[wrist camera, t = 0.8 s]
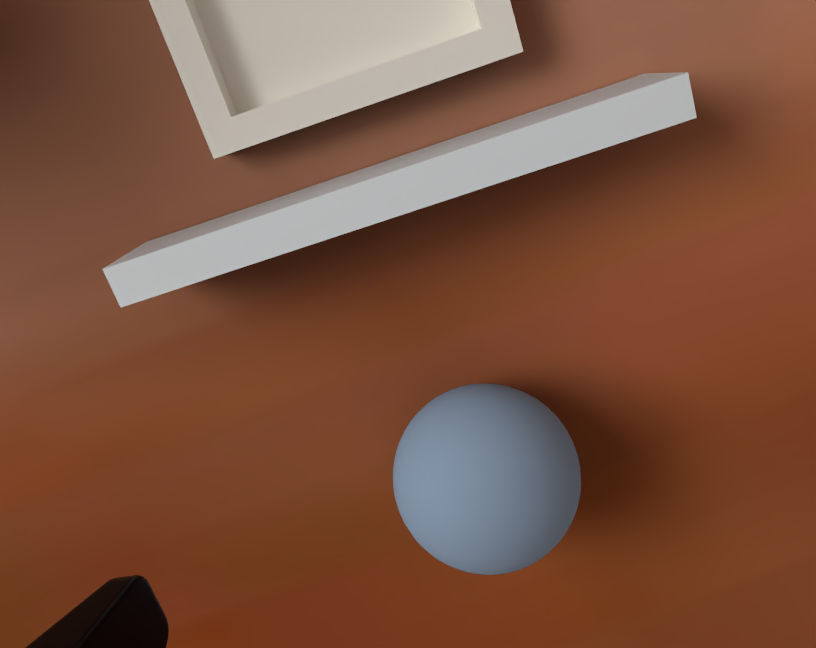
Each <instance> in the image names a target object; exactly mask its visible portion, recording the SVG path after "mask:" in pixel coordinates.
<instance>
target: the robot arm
mask: <svg viewBox="0 0 816 648" xmlns="http://www.w3.org/2000/svg"><path fill="white" fill-rule="evenodd" d="M168 631H169V630H168V622H167V619H166V616H165V614H164V612H163V610H162V608H161V606H160V604H159V602H158V600H157V598H156V596H155V594H154V592H153V590H152V588H151V587H150V585H149V583H148V581H147V580H146V579H145V578H144V577H142V576H139V575H134V576H126V577H118V578H114V579H111V580H109V581H108V582H106V583H105V584H104V585H103V586H101V587H100V588H99V589H98V590H96V591H95V592H94V593H93V594H92V595H90V596H89V597H88V598H87V599H85V600H84V601H83V602H82V603H80V604H79V605H78V606H77V607H75V608H74V609H73V610H72V611H70V612H69V613H68V614H67V615H65V616H64V617H63V618H62V619H61V620H59V621H58V622H57V623H56V624H54V625H53V626H52V627H51V628H49V629H48V630H47V631H46V632H44V633H43V634H42V635H41V636H39V637H38V638H37V639H36V640H34V641H33V642H32V643H31V644H30V645H28V646H27V647H26V648H166V645H167V640H168Z"/></svg>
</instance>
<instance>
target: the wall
mask: <svg viewBox="0 0 816 648" xmlns="http://www.w3.org/2000/svg"><path fill="white" fill-rule="evenodd" d="M695 118H697V116H696V111H695V106H694V101H693V96H692V90H691V85H690V80H689V75H688V72H682V73H645V74H642V75H639V76H636V77H633V78H630V79H627V80H624V81H621V82H618V83H615V84H612V85H609V86H606V87H603V88H600V89H597V90H595V91H592V92H589V93H586V94H583V95H580V96H577V97H574V98H571V99H568V100H565V101H562V102H559V103H556V104H553V105H550V106H547V107H544V108H541V109H538V110H535V111H532V112H529V113H526V114H524V115H521V116H518V117H515V118H512V119H509V120H506V121H503V122H500V123H497V124H494V125H491V126H488V127H485V128H482V129H479V130H476V131H473V132H470V133H467V134H464V135H461V136H458V137H455V138H453V139H450V140H447V141H444V142H441V143H438V144H435V145H432V146H429V147H426V148H423V149H420V150H417V151H414V152H411V153H408V154H405V155H402V156H399V157H396V158H393V159H390V160H387V161H384V162H382V163H379V164H376V165H373V166H370V167H367V168H364V169H361V170H358V171H355V172H352V173H349V174H346V175H343V176H340V177H337V178H334V179H331V180H328V181H325V182H322V183H319V184H316V185H313V186H310V187H308V188H305V189H302V190H299V191H296V192H293V193H290V194H287V195H284V196H281V197H278V198H275V199H272V200H269V201H266V202H263V203H260V204H257V205H254V206H251V207H248V208H245V209H242V210H239V211H237V212H234V213H231V214H228V215H225V216H222V217H219V218H216V219H213V220H210V221H207V222H204V223H201V224H198V225H195V226H192V227H189V228H186V229H183V230H180V231H177V232H174V233H171V234H168V235H166V236H163V237H160V238H157V239H154V240H151V241H148V242H145V243H144V244H142V245H140V246H139V247H137V248H136V249H134V250H132V251H131V252H129V253H128V254H126V255H124V256H123V257H121V258H120V259H118V260H116V261H115V262H113V263H111V264H110V265H108V266H107V267H105V268H103V269H102V270H103V272H104V274H105V276H106V278H107V280H108V282H109V284H110V286H111V288H112V290H113V292H114V295H115V297H116V299H117V301H118V303H119V305H120V307H124V306H127V305H130V304H133V303H136V302H139V301H142V300H145V299H148V298H151V297H154V296H157V295H160V294H163V293H166V292H169V291H172V290H176V289H179V288H182V287H185V286H188V285H191V284H194V283H197V282H200V281H203V280H206V279H209V278H212V277H215V276H218V275H221V274H224V273H227V272H230V271H233V270H236V269H239V268H242V267H245V266H248V265H251V264H254V263H258V262H261V261H264V260H267V259H270V258H273V257H276V256H279V255H282V254H285V253H288V252H291V251H294V250H297V249H300V248H303V247H306V246H309V245H312V244H315V243H318V242H321V241H324V240H327V239H330V238H333V237H336V236H339V235H343V234H346V233H349V232H352V231H355V230H358V229H361V228H364V227H367V226H370V225H373V224H376V223H379V222H382V221H385V220H388V219H391V218H394V217H397V216H400V215H403V214H406V213H409V212H412V211H415V210H418V209H421V208H424V207H428V206H431V205H434V204H437V203H440V202H443V201H446V200H449V199H452V198H455V197H458V196H461V195H464V194H467V193H470V192H473V191H476V190H479V189H482V188H485V187H488V186H491V185H494V184H497V183H500V182H503V181H506V180H509V179H513V178H516V177H519V176H522V175H525V174H528V173H531V172H534V171H537V170H540V169H543V168H546V167H549V166H552V165H555V164H558V163H561V162H564V161H567V160H570V159H573V158H576V157H579V156H582V155H585V154H588V153H591V152H595V151H598V150H601V149H604V148H607V147H610V146H613V145H616V144H619V143H622V142H625V141H628V140H631V139H634V138H637V137H640V136H643V135H646V134H649V133H652V132H655V131H658V130H661V129H664V128H667V127H670V126H673V125H676V124H680V123H683V122H686V121H689V120H692V119H695Z"/></svg>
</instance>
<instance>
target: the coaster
mask: <svg viewBox="0 0 816 648" xmlns="http://www.w3.org/2000/svg"><path fill="white" fill-rule="evenodd" d="M149 2H150V4H151V7H152V9H153V11H154V14H155V16H156V19H157V21H158V24H159V26H160V29H161V31H162V33H163V36H164V38H165V41H166V43H167V46H168V48H169V51H170V53H171V56H172V58H173V60H174V63H175V65H176V68H177V70H178V73H179V75H180V78H181V80H182V82H183V85H184V87H185V90H186V92H187V95H188V97H189V100H190V102H191V105H192V107H193V109H194V112H195V114H196V117H197V119H198V122H199V124H200V127H201V129H202V131H203V134H204V136H205V139H206V141H207V144H208V146H209V149H210V151H211V154H212V156H213V158H214V159H215V158H218V157H221V156H224V155H227V154H230V153H233V152H236V151H238V150H241V149H244V148H247V147H250V146H253V145H256V144H259V143H261V142H264V141H267V140H270V139H273V138H276V137H279V136H282V135H285V134H287V133H290V132H293V131H296V130H299V129H302V128H305V127H308V126H310V125H313V124H316V123H319V122H322V121H325V120H328V119H331V118H334V117H336V116H339V115H342V114H345V113H348V112H351V111H354V110H357V109H359V108H362V107H365V106H368V105H371V104H374V103H377V102H380V101H383V100H385V99H388V98H391V97H394V96H397V95H400V94H403V93H406V92H408V91H411V90H414V89H417V88H420V87H423V86H426V85H429V84H432V83H434V82H437V81H440V80H443V79H446V78H449V77H452V76H455V75H457V74H460V73H463V72H466V71H469V70H472V69H475V68H478V67H481V66H483V65H486V64H489V63H492V62H495V61H498V60H501V59H504V58H506V57H509V56H512V55H515V54H518V53H521V52H523V48H522V44H521V40H520V36H519V33H518V29H517V25H516V21H515V17H514V13H513V10H512V6H511V2H510V0H149Z"/></svg>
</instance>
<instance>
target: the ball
mask: <svg viewBox="0 0 816 648" xmlns="http://www.w3.org/2000/svg"><path fill="white" fill-rule="evenodd" d="M393 486H394V494H395V499H396V503H397V506H398V509H399V512H400V515H401V517H402V519H403V521H404V523H405V525H406V526H407V528H408V529H409V531H410V532H411V534H412V535H413V537H414V538H415V540H416V541H417V542H418V543H419V544H420V545H421V546H422V547H423V548H424V549H425V550H426V551H428V552H429V553H430V554H431V555H432V556H434V557H435V558H437V559H438V560H440V561H441V562H443V563H445V564H447V565H449V566H451V567H454V568H456V569H459V570H462V571H465V572H469V573H474V574H482V575H496V574H504V573H509V572H514V571H517V570H520V569H523V568H525V567H527V566H529V565H531V564H533V563H535V562H536V561H538V560H540V559H541V558H542V557H544V556H545V555H546V554H548V553H549V552H550V551H551V550H552V549H553V548H554V547H555V546H556V545H557V544H558V543H559V542H560V540H561V539H562V538H563V537H564V535H565V534H566V532H567V530H568V528H569V527H570V525H571V523H572V521H573V519H574V516H575V514H576V511H577V507H578V503H579V498H580V492H581V472H580V464H579V459H578V455H577V452H576V449H575V446H574V443H573V441H572V439H571V437H570V435H569V433H568V432H567V430H566V428H565V427H564V425H563V424H562V422H561V421H560V420H559V418H558V417H557V416H556V415H555V414H554V413H553V412H552V411H551V410H550V409H549V408H548V407H547V406H546V405H544V404H543V403H542V402H540V401H539V400H538V399H536V398H534V397H533V396H531V395H529V394H527V393H525V392H523V391H520V390H518V389H515V388H512V387H508V386H505V385H499V384H491V383H479V384H471V385H466V386H461V387H458V388H455V389H452V390H449V391H447V392H445V393H443V394H441V395H439V396H438V397H436V398H435V399H433V400H432V401H430V402H429V403H428V404H427V405H426V406H424V407H423V408H422V409H421V410H420V411H419V412H418V413H417V414H416V415H415V417H414V418H413V419H412V420H411V422H410V423H409V425H408V426H407V428H406V429H405V431H404V434H403V436H402V438H401V440H400V442H399V445H398V448H397V451H396V455H395V461H394V468H393Z"/></svg>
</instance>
